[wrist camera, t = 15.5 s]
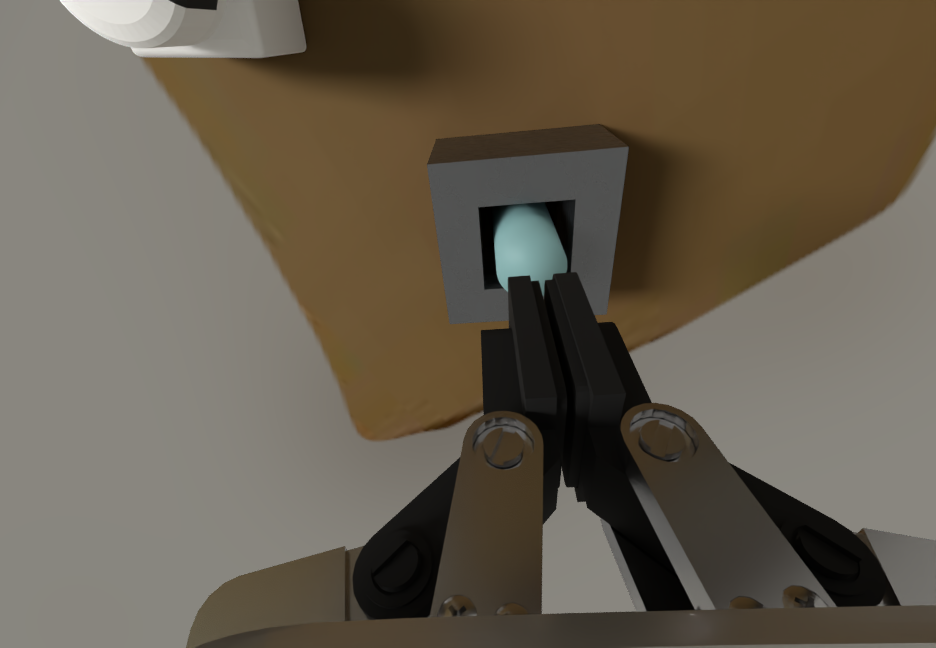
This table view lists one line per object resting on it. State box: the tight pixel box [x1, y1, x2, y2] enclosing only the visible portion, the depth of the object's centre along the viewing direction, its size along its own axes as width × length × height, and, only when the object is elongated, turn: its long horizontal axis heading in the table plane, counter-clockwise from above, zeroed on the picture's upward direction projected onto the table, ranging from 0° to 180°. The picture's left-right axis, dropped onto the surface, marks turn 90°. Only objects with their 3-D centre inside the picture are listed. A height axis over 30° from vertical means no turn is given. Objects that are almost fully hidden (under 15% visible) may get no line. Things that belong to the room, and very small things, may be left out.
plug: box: [492, 202, 567, 296], centre depth 29 cm, size 4×4×10 cm
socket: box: [427, 124, 629, 324], centre depth 31 cm, size 12×12×7 cm
